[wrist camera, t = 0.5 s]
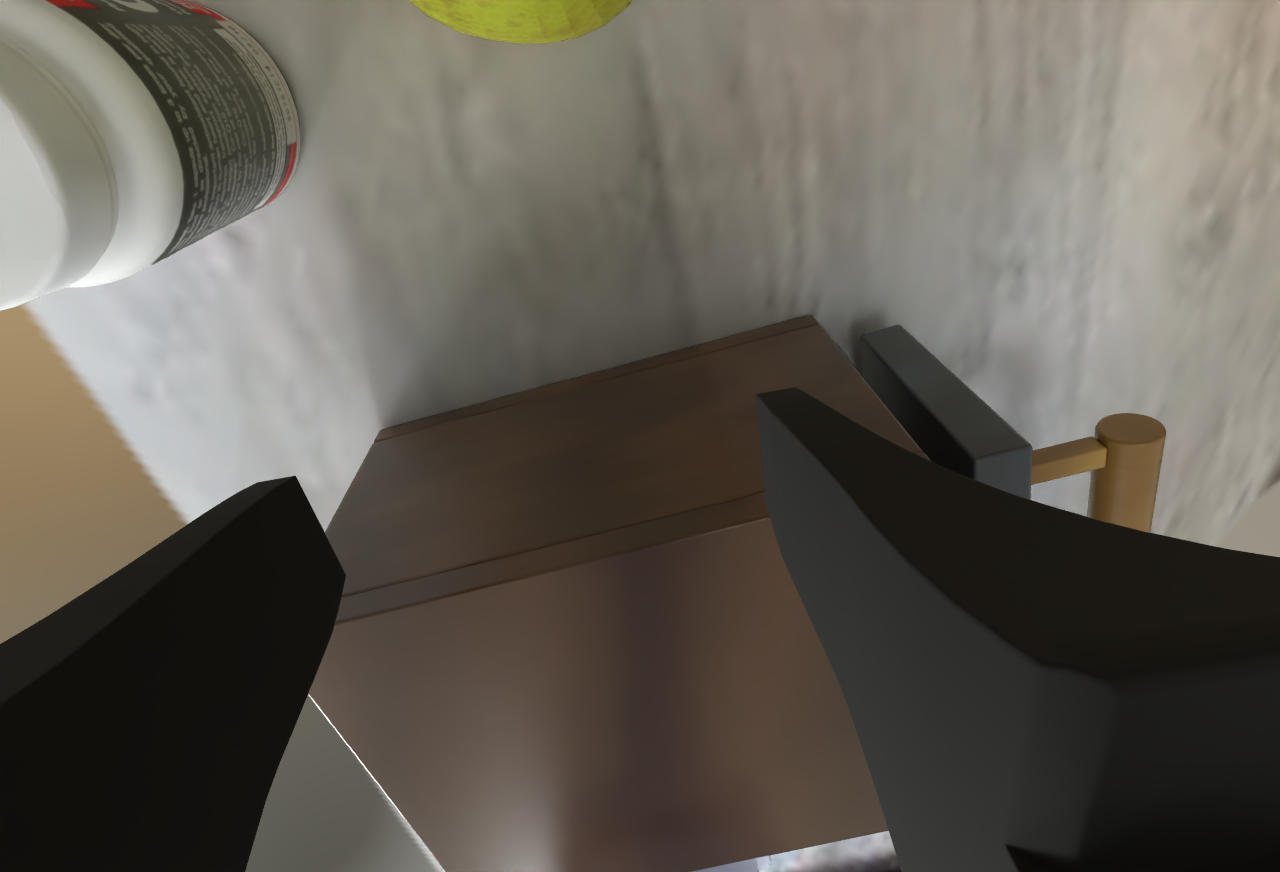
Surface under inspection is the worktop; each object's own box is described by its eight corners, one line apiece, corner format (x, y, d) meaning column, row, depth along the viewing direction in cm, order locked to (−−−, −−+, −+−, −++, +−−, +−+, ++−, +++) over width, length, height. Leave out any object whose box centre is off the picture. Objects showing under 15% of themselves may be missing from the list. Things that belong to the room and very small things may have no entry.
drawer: (1059, 280, 19) (1268, 387, 13) (1043, 556, 24) (1188, 720, 18) (483, 432, 20) (440, 592, 14) (585, 663, 26) (584, 849, 20)
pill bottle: (220, -41, 15) (-125, -116, 8) (344, 171, 17) (167, 264, 10) (44, 50, 16) (-424, 59, 8) (187, 242, 18) (-86, 379, 11)
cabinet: (812, 313, 20) (943, 473, 13) (851, 594, 26) (956, 817, 18) (379, 428, 21) (263, 640, 14) (509, 674, 27) (479, 917, 19)
